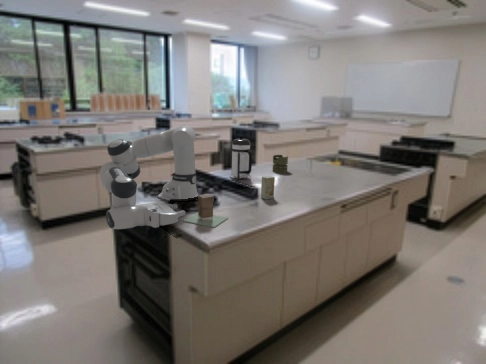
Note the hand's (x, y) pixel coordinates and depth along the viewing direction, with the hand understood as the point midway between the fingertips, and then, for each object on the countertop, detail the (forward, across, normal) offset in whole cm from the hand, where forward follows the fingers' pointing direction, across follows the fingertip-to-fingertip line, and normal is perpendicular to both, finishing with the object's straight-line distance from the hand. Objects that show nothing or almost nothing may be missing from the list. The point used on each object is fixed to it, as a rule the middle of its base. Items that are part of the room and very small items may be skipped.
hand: (180, 209), depth 148 cm
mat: (+12, 0, -7) cm, 14 cm away
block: (+12, 0, +5) cm, 12 cm away
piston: (+106, -72, -7) cm, 129 cm away
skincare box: (+57, -17, -7) cm, 60 cm away
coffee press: (+68, -63, -7) cm, 93 cm away
